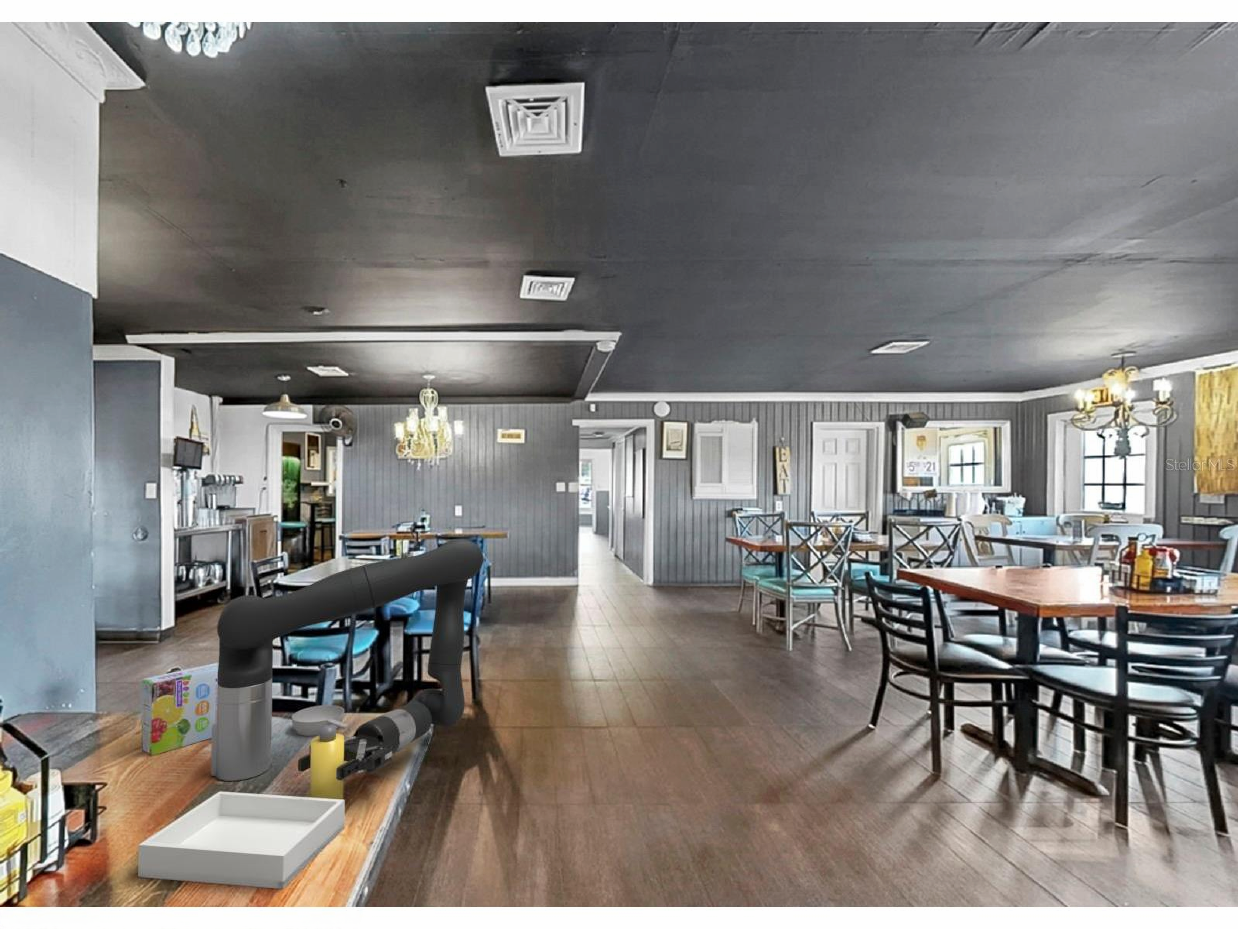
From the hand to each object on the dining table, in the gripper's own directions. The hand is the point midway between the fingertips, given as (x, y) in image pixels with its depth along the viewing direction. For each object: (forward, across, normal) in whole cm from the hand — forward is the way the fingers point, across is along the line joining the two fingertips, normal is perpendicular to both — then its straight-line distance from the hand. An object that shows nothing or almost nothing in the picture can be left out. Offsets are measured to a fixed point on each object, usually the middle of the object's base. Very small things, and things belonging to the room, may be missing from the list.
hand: (318, 770), depth 111 cm
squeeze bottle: (-2, 0, +8) cm, 8 cm away
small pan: (-28, -27, +8) cm, 39 cm away
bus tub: (+12, -2, +8) cm, 14 cm away
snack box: (-16, -49, +8) cm, 52 cm away
